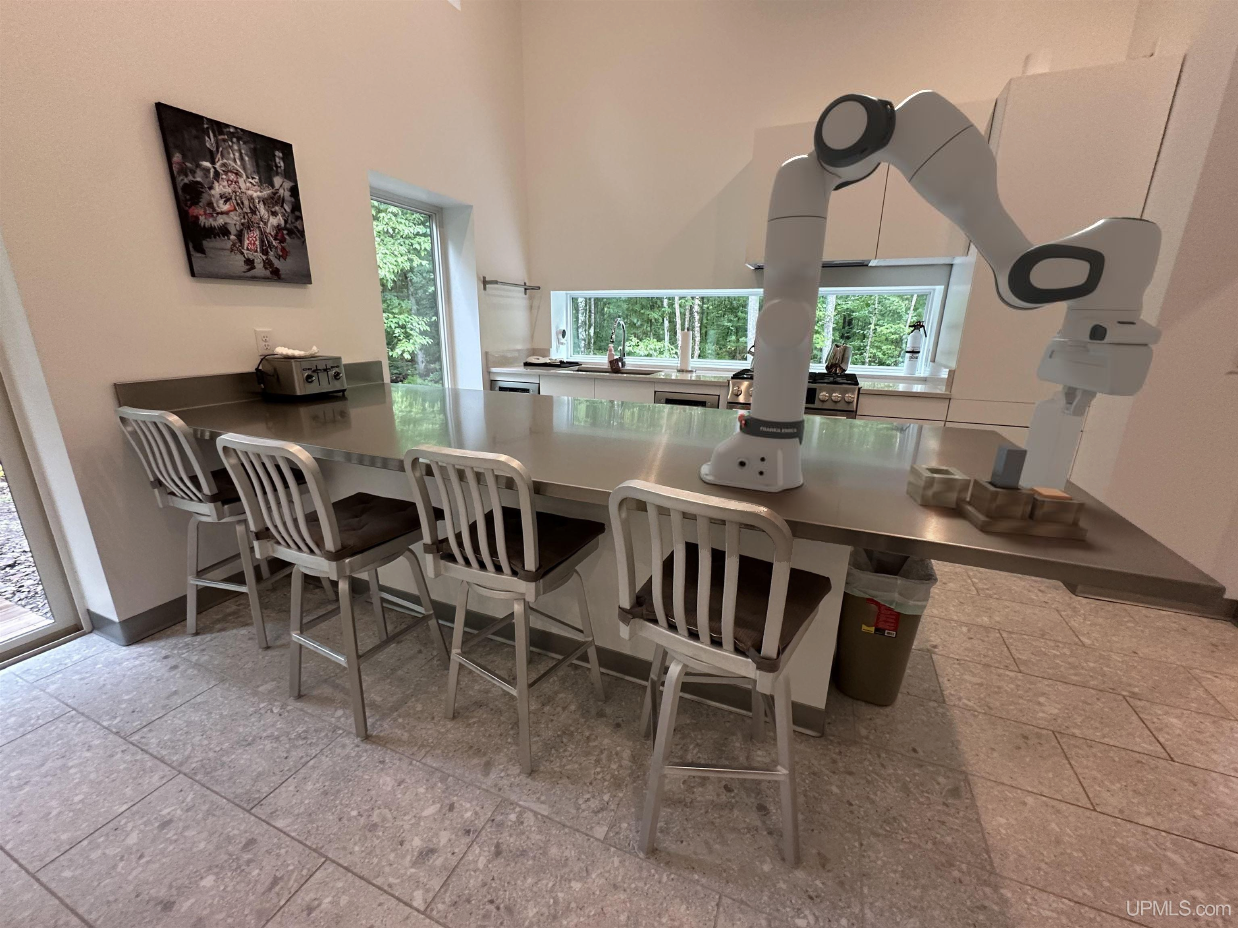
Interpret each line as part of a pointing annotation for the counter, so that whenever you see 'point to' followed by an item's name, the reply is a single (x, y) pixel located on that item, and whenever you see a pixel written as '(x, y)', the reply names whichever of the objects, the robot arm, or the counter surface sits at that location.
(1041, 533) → the socket base
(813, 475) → the counter surface
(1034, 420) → the milk
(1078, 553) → the counter surface
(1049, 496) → the button
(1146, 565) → the counter surface
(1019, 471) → the steel peg
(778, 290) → the robot arm
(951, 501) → the beige hollow block
